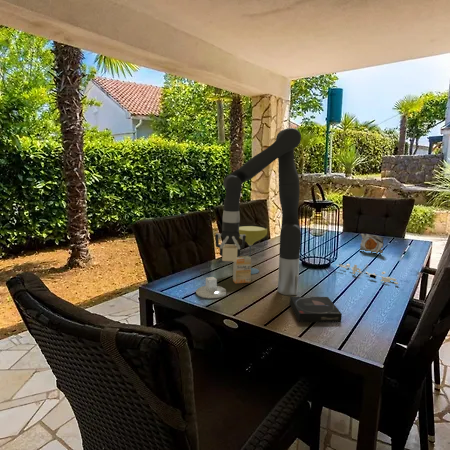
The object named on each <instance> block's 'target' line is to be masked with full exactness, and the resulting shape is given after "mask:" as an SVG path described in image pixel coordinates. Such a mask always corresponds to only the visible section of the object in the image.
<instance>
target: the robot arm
mask: <svg viewBox="0 0 450 450" xmlns="http://www.w3.org/2000/svg"><path fill="white" fill-rule="evenodd" d="M301 140H302V135H301V131H299V130H298V129H296V128H294V127H287V128H285V129H282V130H280V131H279V132H277V135H276V137H275V140H274V142H273V143H272V144H270V145H269V146H268V147H266V148H265V149H264V150H262V151H261V152H258V154H256V155H254V156H253V157H251V158H250V159H248V160H247V161H246V162H245V163H244V164H242V166H240V167H239V168H237V169H235V170H234V171H233V172H231V173H229V174H228V175H227V176H226V177H225V178H224V179H223V187H224V189H225V198H224V200H223V213H222V225H221V226H222V232H221V233H217V232H216V233H215V235H214V236H215V238H214V239H215V247H216V248H218V249H219V256H220V257H222V253H223V246H224V245H225V244H234V245H236V246H237V247H238V250H237V257H241V249H245V246H246V245H245V244H246V242H245V239H246V235H245V234H243V235H241V234H239V225H240V222H241V221H240V202H241V201H240V200H241V196H242V189H243V187H242V186H243V184H244V183H246V181H247V182H248V181H249V180H251V179H253V178H254V177H256V176H257V175H258V174H259V173H261V172H262V171H263V170H264V169H266V168H267V167H268V166H269V165H270V164H271V163H273V162H275V161H276V160H277V161H278V163H277V164H278V167H277V168H278V170H277V171H278V196H279V203H280V207H281V228H280V234H279V252H278V253H279V255H278V256H279V257H278V279H277V283H278V284H277V292H278V293H279V294H281V295H285V296H297V295H298V292H299V280H300V278H299V277H300V273H299V272H300V270H299V269H300V268H299V267H300V253H301V245H302V244H301V243H302V242H301V241H302V230H301V227H300V221H299V204H300V190H301V189H300V177H299V174H298V170H297V168H296V164H295V156H294V155H295V153H294V151H295V149H296V148H297V147H298V146H299V145H300V143H301ZM220 237H221V238H222V242H221V244H219V242H220V241H219V239H220ZM239 237H241V239H240V238H239ZM239 239H240V240H242V241H241V245H240V244H239V241H238V240H239Z"/></svg>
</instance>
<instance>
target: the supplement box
mask: <svg viewBox="0 0 450 450" xmlns="http://www.w3.org/2000/svg"><path fill="white" fill-rule="evenodd" d="M232 262H233V264H232V267H233V268H232V282H233V283H234V284H235V285H236V284H245V283H249V284H250V283H251V279H252V278H251V277H252V276H251V275H252V274H251V268H252V258H250V257H249V255H246V256H245V255H244V256H243V255H242V256H241V255H240V256H238V257H237V262H236V261H232Z"/></svg>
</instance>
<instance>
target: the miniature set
mask: <svg viewBox="0 0 450 450" xmlns="http://www.w3.org/2000/svg"><path fill="white" fill-rule="evenodd" d="M334 265H335V266H338V267H340V268H344V269H346V270H347V269H348V268H350V269H351V271H352V274H355V275H356V273H359V274H362V273H363V272H362V269H361V268H360V267H358V265H357V264H356V263H355V264H354V265H353V266H352V267H351V263H346V265H345V264H341V263H339V265H338V264H334ZM357 270H359V271H357ZM360 270H361V271H360ZM365 272H366V273H367V274H366V273H365V274H366V275H367V276H369V278H372V279H375V280H376V279H377V277H378V278H379V277H380V278H381V280H380V282H382V281H384V282H383V283H385V282H389V283H391V282H390V280H393V281H396V282H394V283H393V284H395V285H399V282H398V281H397V278H394V277H391V278H390V276H387V277H385V276H381V275H378V274H375V273H376V272H374V273H370V272H368V271H365ZM381 274H382V275H386V271H381Z"/></svg>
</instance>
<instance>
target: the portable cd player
mask: <svg viewBox="0 0 450 450" xmlns="http://www.w3.org/2000/svg"><path fill="white" fill-rule="evenodd" d="M289 305H290V308H291V310H292V311H293V313H294V315H295V317H296V319H297V321H298V323H342V313H341V311H340V309H338V307H337V306H336V305H335V304H334V303H333V301H332V300H331V299H330V298H329V296H290V298H289Z"/></svg>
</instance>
